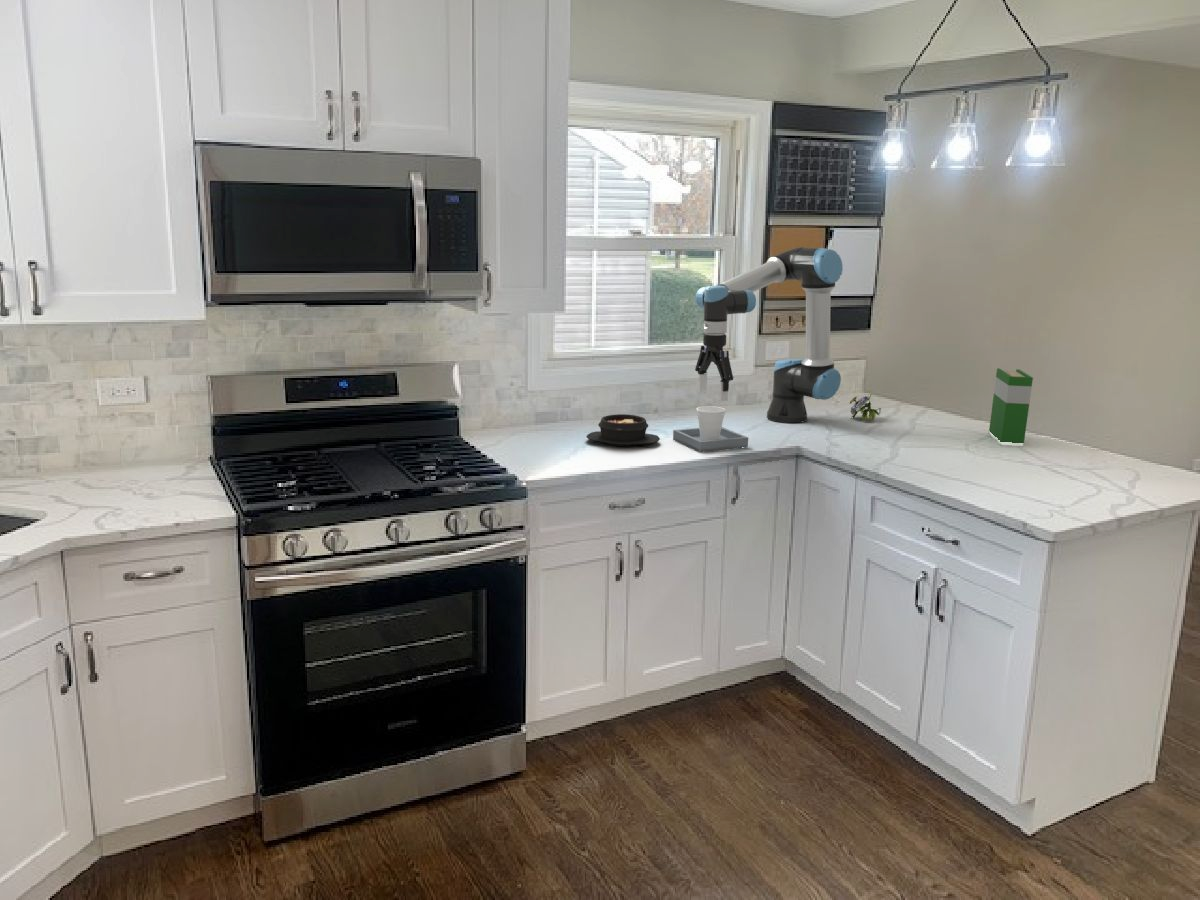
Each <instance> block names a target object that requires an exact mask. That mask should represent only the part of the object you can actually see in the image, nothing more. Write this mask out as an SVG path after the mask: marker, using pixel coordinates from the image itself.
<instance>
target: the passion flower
mask: <svg viewBox="0 0 1200 900" xmlns="http://www.w3.org/2000/svg"><path fill="white" fill-rule="evenodd" d="M871 397H872V394H870V393H869V394H868V396H867V395H865V396H863V397H861V398H859V399H857V398H858V396H856V395H855V396H854V397H853V398H852V399H851V400H850V402H849V405H850V404H853V405H852V406H851V407H850V414H851V417H853V419H854V418H855V417H856V416H857V414H858V412H860V414H861V419H862V420H861V421H862V422H863V421H867V418H868V421H869V422H871V421H872V420H875V418H876V415H877V416H880V414H881V412H882V411H881V410H882V407H878V408H876V409H875V408H872V407H871V406H872V403H871ZM878 410H879V412H878Z"/></svg>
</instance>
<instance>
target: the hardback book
mask: <svg viewBox="0 0 1200 900" xmlns="http://www.w3.org/2000/svg"><path fill="white" fill-rule="evenodd" d="M1033 381H1034V377H1032V376H1031V375H1029V374H1028V373H1026V372H1025V371H1022V369H1018V368H1016V371H1015V370H1003V369H1001V368H999V367H997V368H996V373H995V381H994V382H995V383H994V389H993V397H992V406H991V412H990V422H989V428H988V429H989V430H988V432H989V431H990V432H991V433H992V434H993V435H994V436H995V437H997V438H998V440H1000V442H1012V443H1024V444H1025V438H1026V431H1027V425H1028V416H1029V411H1030V410H1029V408H1030V403H1031V395H1032V394H1031V393H1032V388H1033Z"/></svg>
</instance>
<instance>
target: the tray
mask: <svg viewBox="0 0 1200 900" xmlns="http://www.w3.org/2000/svg"><path fill="white" fill-rule="evenodd" d="M672 434H673V435H672V441H674V440H675V442H676V441H677V442H676V443H678V444H681V445H683V446H685V447H688V448H690V449H691V450H693V449H694V451H696V452H698V453H708V452H710V453H711V452H718V451H719V450H721V451H727V450H726V449H730V450H735V449H734V448H740V449H743V448H742V447H748V448H749V437H748V436H746V435H743V434H741V433H738V432H735V431H734V430H731V429H728V428H726V427H723V426H722V428H721V432H720V438H719V439H718V440H708V441H702V440H701V438H700V429H699V427H694V428H693V427H691V428H682V429H673V432H672ZM719 452H720V451H719Z"/></svg>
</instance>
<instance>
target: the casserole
mask: <svg viewBox="0 0 1200 900" xmlns="http://www.w3.org/2000/svg"><path fill="white" fill-rule="evenodd" d="M597 424H598V427H599V428H600V431H599V430H598V431H591V432H590V433H588V434H586V438H587V439H588V440H589V441H595V442H602V443H604V444H607V445H611V446H614V445H615V446H614V447H634V446H637V445H649V444H650V445H651V444H654V443H657V442H659V441H660V440H661V438H660V437H659V436H658V435H657V434H652V433H647V429H648V427H649V424H648V423H647V420H646V418H645V417H643V416H640V415H635V414H627V413H626V414H622V413H621V414H620V413H618V414H608V415H606V416H603V417H601V419H600V422H598V423H597Z"/></svg>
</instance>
